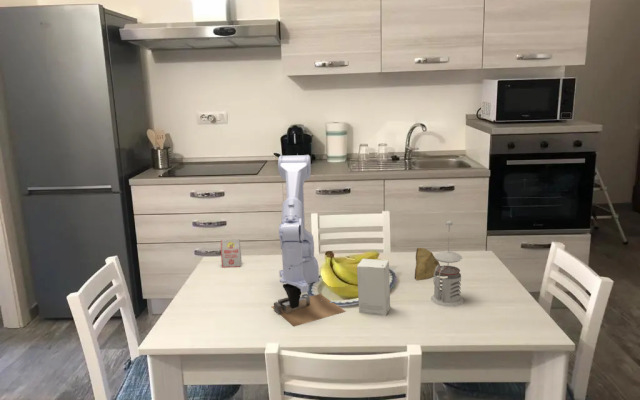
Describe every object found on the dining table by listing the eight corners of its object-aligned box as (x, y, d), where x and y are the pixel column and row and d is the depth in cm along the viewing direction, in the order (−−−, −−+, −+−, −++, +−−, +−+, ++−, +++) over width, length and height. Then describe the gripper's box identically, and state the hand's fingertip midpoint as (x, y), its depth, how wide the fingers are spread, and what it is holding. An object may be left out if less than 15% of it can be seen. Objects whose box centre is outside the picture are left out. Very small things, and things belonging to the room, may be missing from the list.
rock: (441, 262, 183) (413, 258, 184) (446, 249, 177) (417, 245, 177) (441, 289, 177) (412, 285, 177) (447, 276, 170) (416, 272, 171)
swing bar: (306, 302, 158) (306, 293, 157) (311, 304, 156) (311, 295, 155) (282, 311, 152) (281, 302, 151) (286, 313, 150) (286, 304, 150)
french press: (469, 298, 159) (472, 219, 153) (450, 311, 151) (452, 228, 145) (441, 290, 166) (443, 214, 160) (421, 302, 158) (422, 223, 152)
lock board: (320, 296, 164) (320, 286, 163) (346, 314, 151) (345, 303, 150) (270, 310, 155) (269, 299, 155) (292, 330, 143) (292, 318, 142)
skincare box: (390, 309, 153) (390, 259, 150) (385, 319, 147) (385, 267, 144) (363, 306, 156) (362, 257, 152) (357, 316, 150) (356, 265, 146)
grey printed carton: (223, 264, 195) (221, 238, 193) (241, 263, 195) (239, 238, 193) (222, 267, 191) (220, 241, 189) (240, 267, 192) (238, 241, 189)
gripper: (269, 258, 152) (271, 301, 155) (291, 273, 140) (293, 319, 143) (290, 253, 156) (292, 296, 159) (314, 268, 143) (315, 313, 147)
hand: (294, 307), depth 151 cm, fingers closed, pressing on swing bar
